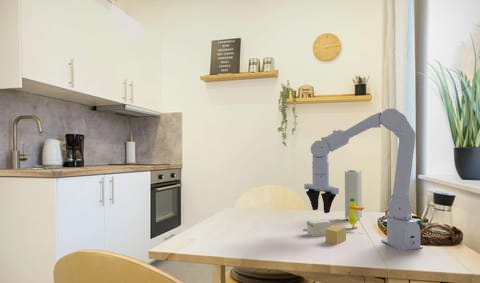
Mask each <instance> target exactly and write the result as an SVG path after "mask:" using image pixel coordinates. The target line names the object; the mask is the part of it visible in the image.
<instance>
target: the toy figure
mask: <svg viewBox="0 0 480 283" xmlns="http://www.w3.org/2000/svg"><path fill="white" fill-rule="evenodd" d="M350 200H351V201H350V207H349V209H350V212H351V215H350V216H349V217H347V218H346V219H347V220H348V222H349V224H350V225H352V227H351V229H353V230H354V229H355V230H357V229H358V226H356V224H357V222H358V220H357V217H356V216H355V210H362V211H364V209H365V208H364V207H363V206H362V207H359V206H356V205H355V200H354V198H350Z"/></svg>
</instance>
